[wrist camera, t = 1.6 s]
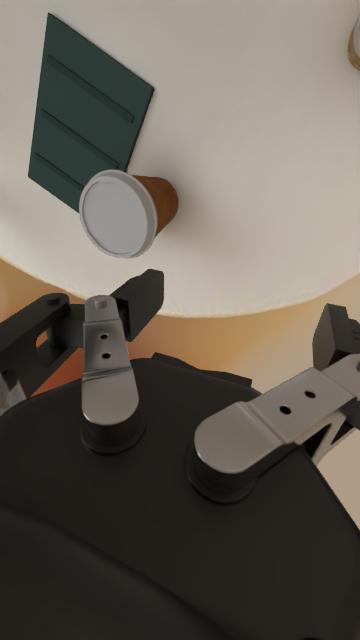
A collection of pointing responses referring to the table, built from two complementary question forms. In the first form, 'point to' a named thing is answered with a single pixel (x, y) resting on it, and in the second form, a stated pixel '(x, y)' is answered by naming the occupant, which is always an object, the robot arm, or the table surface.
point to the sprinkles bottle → (355, 45)
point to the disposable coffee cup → (126, 211)
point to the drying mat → (82, 114)
